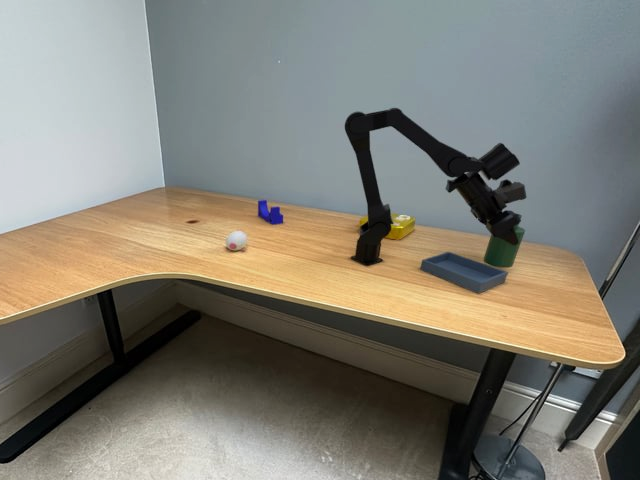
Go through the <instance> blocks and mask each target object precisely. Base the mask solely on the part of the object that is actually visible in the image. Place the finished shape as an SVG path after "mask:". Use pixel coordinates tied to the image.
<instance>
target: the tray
mask: <svg viewBox="0 0 640 480" xmlns="http://www.w3.org/2000/svg"><path fill="white" fill-rule="evenodd" d="M419 270H420V271H422V272H426V273H428V274H430V275H432V276H435V277H437V278H440V279H443V280H445V281H447V282H448V283H449V282H450V283H452V284H453V285H457V286H459V287H462V288H464V289H466V290H469V291H471V292H474V293H476V294H481V293H483V292H485V291H488V290H490V289H493V288H494V287H497V286H499V285H501V284H504V283H505V282H506V280H507V277H508V273H509V272H508V271H505V270H502V269H501V268H498V267H495V266H491V265H489V264H487V263H484V262H480V261H477V260H475V259H471V258H469V257H466V256H462V255H460V254H457V253H454V252H451V251H446V252H441V253H440V254H437V255H434V256H429V257H426V258H424V259H422V260H421V263H420V268H419Z"/></svg>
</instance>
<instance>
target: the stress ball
mask: <svg viewBox="0 0 640 480" xmlns="http://www.w3.org/2000/svg"><path fill="white" fill-rule="evenodd" d="M247 243H248V236H247V235H246V233H244V231H240V230H235V231H232V232H230V233H229V234H228V235H227V237H226V238H225V245H226V246H225V247H226V248H227V249H229V251H230V250H231V251H240V250H242V253H243V252H245V250H244V249H243V248H245V246H246V245H247Z"/></svg>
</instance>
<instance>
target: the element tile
mask: <svg viewBox="0 0 640 480" xmlns="http://www.w3.org/2000/svg"><path fill="white" fill-rule="evenodd" d="M391 216H392V220H393V223H394V224H391V232H390V233H389V234H388V235H387V236H386V237H384V239H390V240H394V241H398V240H399V241H400V240H402V239H403V238H405V237H406V236H407V235H409V234H410V233H411V232H413V230H415V229H414V228H415V224H416V218H415V217H414V216H410V215H405V214H399V213H394V212H391ZM367 221H368V214H366V215H364V216H363V217H361V218H360V219H359V224H358V228H359V227H360V226H362V225H363V224H364V223H366V222H367Z"/></svg>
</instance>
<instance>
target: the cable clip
mask: <svg viewBox="0 0 640 480" xmlns="http://www.w3.org/2000/svg"><path fill="white" fill-rule="evenodd" d="M257 217H258V218H260V219H262V220H264V221H265V222H267V223H269V224H270V225H273V226H274V225H281V224H284V214H282V213H281V207H280V206H271V207H270V210H269V208H268V201H267V200H266V199H260V200H257Z"/></svg>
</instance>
